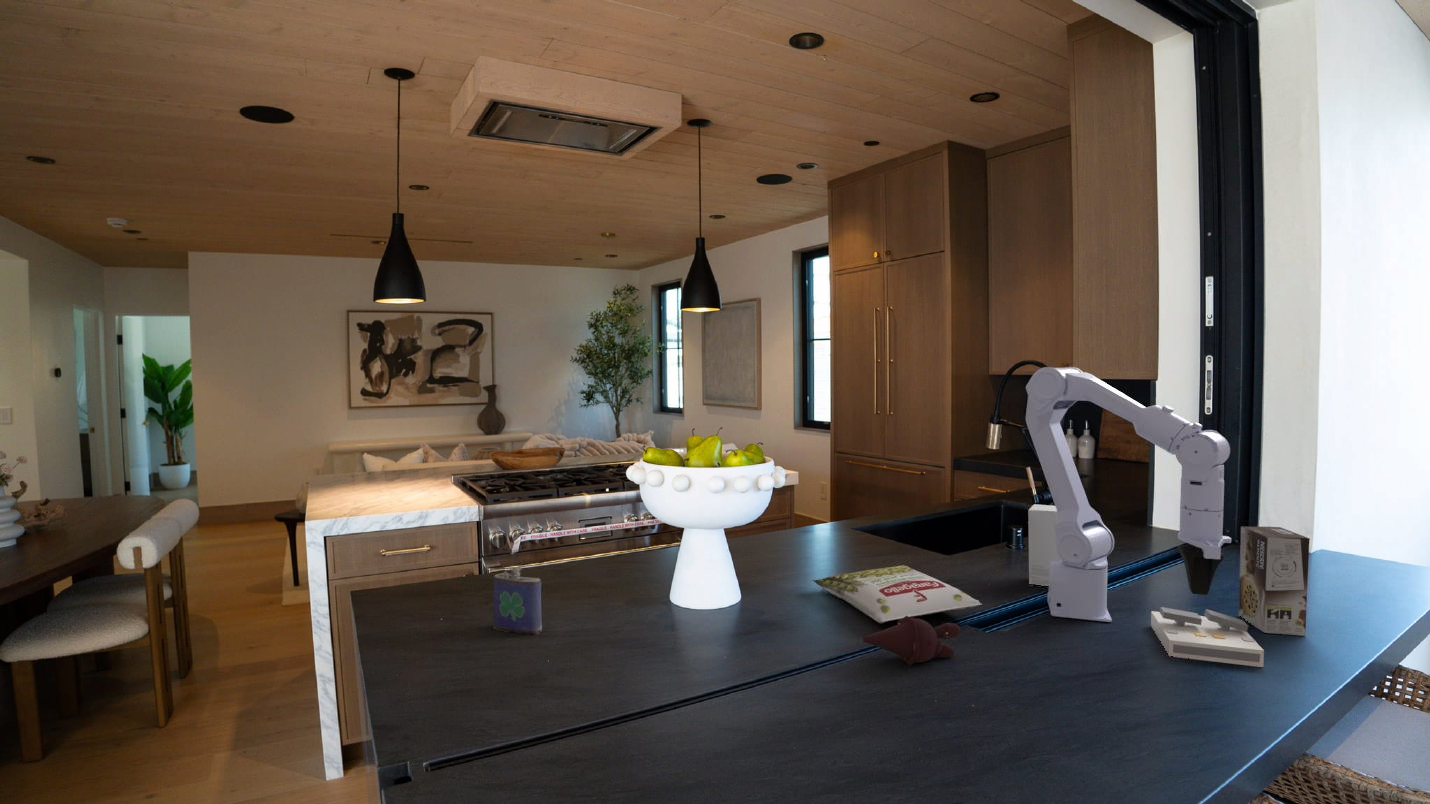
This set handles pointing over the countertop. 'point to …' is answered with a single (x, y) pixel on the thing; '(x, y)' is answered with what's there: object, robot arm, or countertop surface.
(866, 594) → the frozen beans
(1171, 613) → the block
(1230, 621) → the rocker right
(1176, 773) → the countertop surface
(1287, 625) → the coffee box
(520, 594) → the flask
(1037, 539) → the skincare box
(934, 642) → the icecream
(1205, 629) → the console
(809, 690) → the countertop surface
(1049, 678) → the countertop surface
